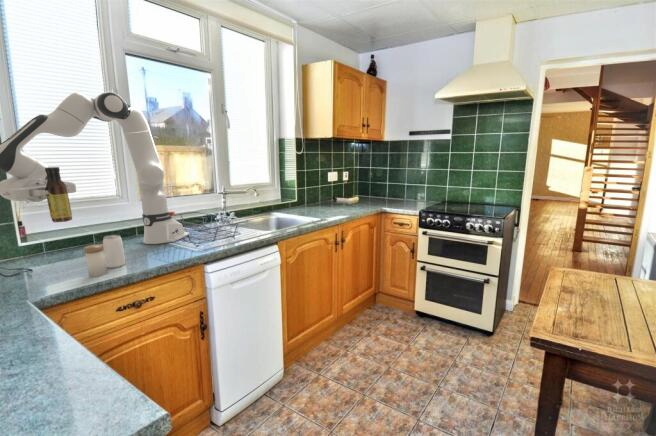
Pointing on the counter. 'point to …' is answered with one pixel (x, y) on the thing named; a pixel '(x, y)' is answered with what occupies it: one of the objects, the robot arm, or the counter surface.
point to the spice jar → (95, 260)
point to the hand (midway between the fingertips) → (57, 191)
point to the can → (113, 251)
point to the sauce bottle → (57, 196)
